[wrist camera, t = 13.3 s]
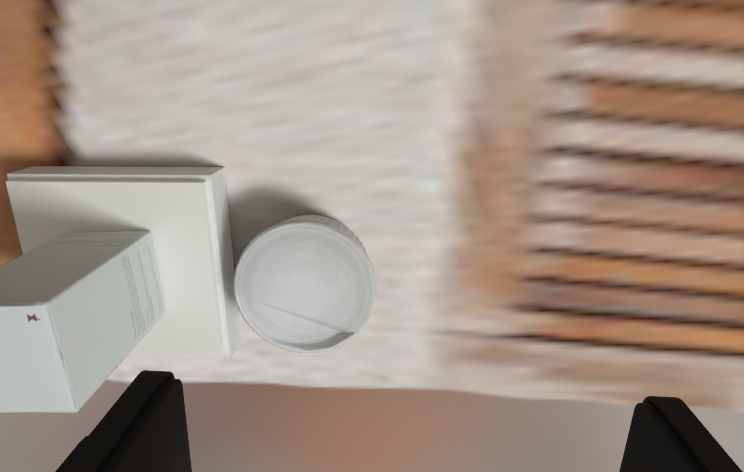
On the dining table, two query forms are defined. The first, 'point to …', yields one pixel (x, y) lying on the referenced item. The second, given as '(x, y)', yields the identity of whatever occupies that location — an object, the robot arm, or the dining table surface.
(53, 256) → the supplement box
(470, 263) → the dining table surface
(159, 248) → the stand
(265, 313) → the ramekin
